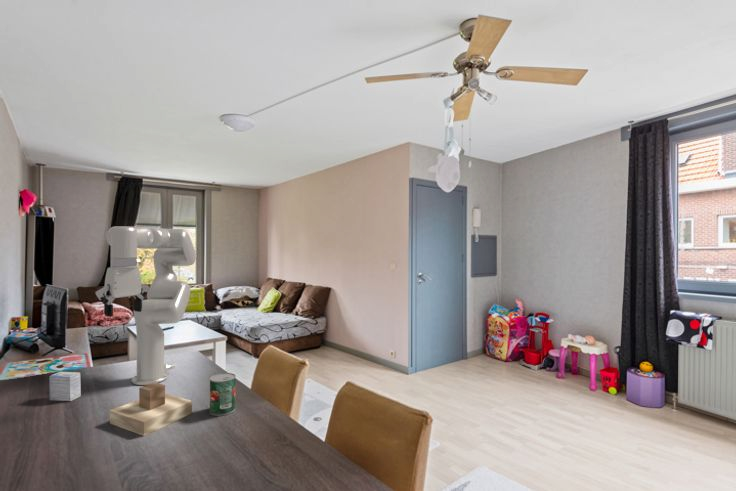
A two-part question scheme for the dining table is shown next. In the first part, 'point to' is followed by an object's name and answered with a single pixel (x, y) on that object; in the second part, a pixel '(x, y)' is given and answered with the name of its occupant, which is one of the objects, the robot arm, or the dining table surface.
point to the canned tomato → (222, 394)
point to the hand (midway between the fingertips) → (123, 313)
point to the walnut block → (151, 396)
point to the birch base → (150, 415)
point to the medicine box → (65, 386)
